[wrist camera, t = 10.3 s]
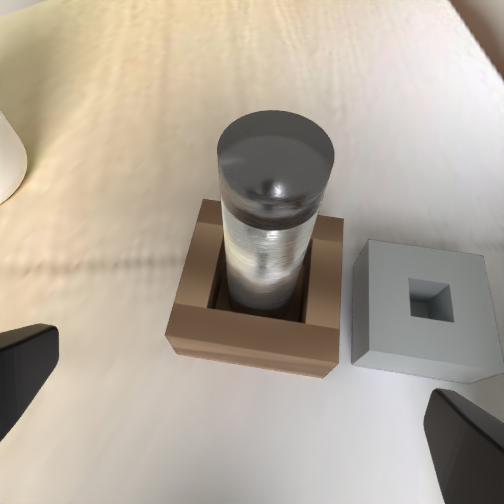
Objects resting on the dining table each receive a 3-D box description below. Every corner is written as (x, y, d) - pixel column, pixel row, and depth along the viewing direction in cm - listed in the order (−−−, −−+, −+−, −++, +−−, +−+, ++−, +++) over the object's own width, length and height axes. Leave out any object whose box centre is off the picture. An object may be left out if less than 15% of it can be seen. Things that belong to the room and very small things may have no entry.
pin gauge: (302, 299, 24) (358, 155, 12) (257, 339, 22) (272, 217, 11) (261, 259, 25) (278, 96, 14) (216, 293, 24) (193, 144, 12)
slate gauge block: (468, 384, 22) (505, 372, 19) (351, 365, 22) (369, 350, 19) (454, 280, 25) (483, 255, 22) (353, 265, 25) (368, 239, 22)
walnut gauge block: (322, 378, 22) (338, 363, 18) (176, 354, 22) (164, 334, 19) (329, 250, 26) (343, 218, 23) (208, 232, 26) (203, 199, 23)
